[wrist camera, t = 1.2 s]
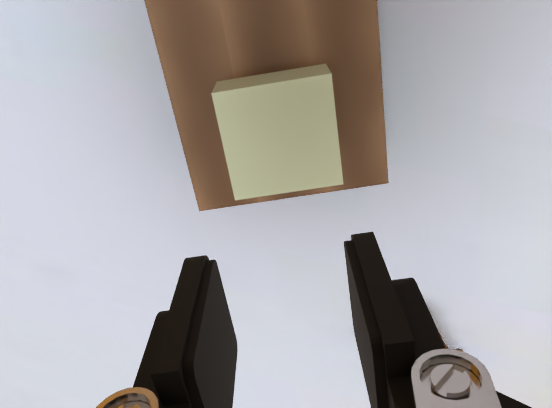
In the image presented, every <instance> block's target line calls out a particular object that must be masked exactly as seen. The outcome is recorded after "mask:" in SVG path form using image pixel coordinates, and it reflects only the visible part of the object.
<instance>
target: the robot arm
mask: <svg viewBox="0 0 552 408" xmlns="http://www.w3.org/2000/svg"><path fill="white" fill-rule="evenodd" d="M344 248H345V257H346V265H347V274H348V283H349V292H350V300H351V309H352V318H353V326H354V332H355V337H356V342H357V346H358V351H359V355H360V360H361V364H362V369H363V373H364V378H365V382H366V386H367V391H368V395H369V400H370V404H371V408H531V407H529V406H527V405H525V404H523V403H521V402H519V401H516V400H514V399H512V398H510V397H508V396H506V395H504V394H501V393H499V392H497V391H496V390H495V387H494V385H493V382H492V379H491V376H490V374H489V372H488V371H487V369H486V367H485V366H484V365H483V364H482V363H481V362H480V361H479V360H478V359H477V358H475V357H473V356H471V355H469V354H468V353H465V352H462V351H458V350H455V349H446V347H445V345H444V343H443V341H442V338H441V336H440V334H439V332H438V330H437V327H436V325H435V323H434V321H433V319H432V316H431V314H430V312H429V310H428V308H427V305H426V303H425V301H424V299H423V297H422V294H421V292H420V290H419V288H418V286H417V283H416V281H415V280H414V279H413V278H406V279H398V280H391V278H390V275H389V273H388V270H387V267H386V265H385V262H384V259H383V257H382V254H381V252H380V249H379V246H378V244H377V241H376V238H375V236H374V233H373V232H368V233H361V234H354V235H351V241H344ZM236 361H237V341H236V336H235V332H234V328H233V324H232V320H231V316H230V312H229V309H228V305H227V301H226V297H225V293H224V289H223V285H222V281H221V277H220V273H219V270H218V266H217V262H216V260H209V259H208V257H207V256H206V255H205V256H198V257H191V258H186V259H185V260H184V263H183V266H182V270H181V273H180V276H179V280H178V283H177V286H176V290H175V293H174V296H173V300H172V303H171V306H170V310H169V311H161V312H159V313H158V314H157V316H156V319H155V322H154V325H153V328H152V331H151V334H150V337H149V340H148V343H147V346H146V349H145V352H144V355H143V358H142V361H141V364H140V367H139V370H138V373H137V376H136V379H135V382H134V385H133V388H127V389H124V390H121V391H118V392H116V393H114V394H112V395H110V396H109V397H107V398H106V399H105V400H103V401H102V402H101V403H100V404H99V405H98V406H97V407H96V408H232V405H233V394H234V383H235V372H236Z"/></svg>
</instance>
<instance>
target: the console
mask: <svg viewBox="0 0 552 408" xmlns="http://www.w3.org/2000/svg"><path fill="white" fill-rule="evenodd" d="M144 1H145V4H146V8H147V12H148V16H149V20H150V24H151V27H152V31H153V35H154V39H155V43H156V47H157V50H158V54H159V58H160V62H161V66H162V69H163V73H164V77H165V81H166V85H167V89H168V92H169V96H170V100H171V104H172V108H173V112H174V115H175V119H176V123H177V127H178V131H179V135H180V138H181V142H182V146H183V150H184V154H185V158H186V161H187V165H188V169H189V173H190V177H191V181H192V184H193V188H194V192H195V196H196V200H197V204H198V207H199V211H203V210H210V209H217V208H224V207H230V206H237V205H244V204H251V203H257V202H264V201H271V200H278V199H284V198H291V197H298V196H305V195H311V194H318V193H325V192H332V191H338V190H345V189H352V188H359V187H365V186H372V185H379V184H386V183H388V169H387V153H386V137H385V121H384V105H383V89H382V73H381V57H380V41H379V25H378V9H377V0H144ZM320 64H327V66H328V68H329V70H330V72H331V74H332V83H333V92H334V101H335V111H336V120H337V129H338V138H339V148H340V157H341V166H342V175H343V184H342V185H336V186H329V187H322V188H315V189H309V190H302V191H295V192H289V193H282V194H275V195H268V196H262V197H255V198H248V199H242V200H235V198H234V194H233V189H232V185H231V180H230V176H229V171H228V166H227V162H226V157H225V153H224V148H223V144H222V139H221V135H220V130H219V126H218V121H217V117H216V112H215V108H214V103H213V99H212V94H211V93H212V91H213V89H214V86H215V84H216V82H217V81H223V80H229V79H235V78H241V77H247V76H253V75H260V74H266V73H272V72H278V71H284V70H290V69H296V68H302V67H308V66H314V65H320Z"/></svg>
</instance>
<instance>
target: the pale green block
mask: <svg viewBox="0 0 552 408" xmlns="http://www.w3.org/2000/svg"><path fill="white" fill-rule="evenodd" d="M211 94H212V99H213V103H214V108H215V112H216V117H217V121H218V126H219V130H220V135H221V139H222V144H223V148H224V153H225V157H226V162H227V166H228V171H229V176H230V180H231V185H232V189H233V194H234V198H235V200H242V199H248V198H255V197H262V196H268V195H275V194H282V193H289V192H295V191H302V190H309V189H315V188H322V187H329V186H336V185H342V184H343V175H342V166H341V157H340V148H339V138H338V129H337V120H336V111H335V101H334V92H333V83H332V74H331V72H330V70H329V68H328V66H327V64H320V65H314V66H308V67H302V68H296V69H290V70H284V71H278V72H272V73H266V74H260V75H253V76H247V77H241V78H235V79H229V80H223V81H217V82H216V84H215V86H214V89H213V91H212V93H211Z"/></svg>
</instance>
